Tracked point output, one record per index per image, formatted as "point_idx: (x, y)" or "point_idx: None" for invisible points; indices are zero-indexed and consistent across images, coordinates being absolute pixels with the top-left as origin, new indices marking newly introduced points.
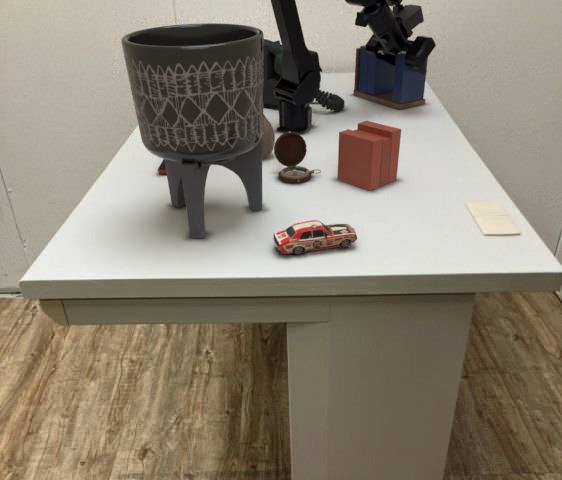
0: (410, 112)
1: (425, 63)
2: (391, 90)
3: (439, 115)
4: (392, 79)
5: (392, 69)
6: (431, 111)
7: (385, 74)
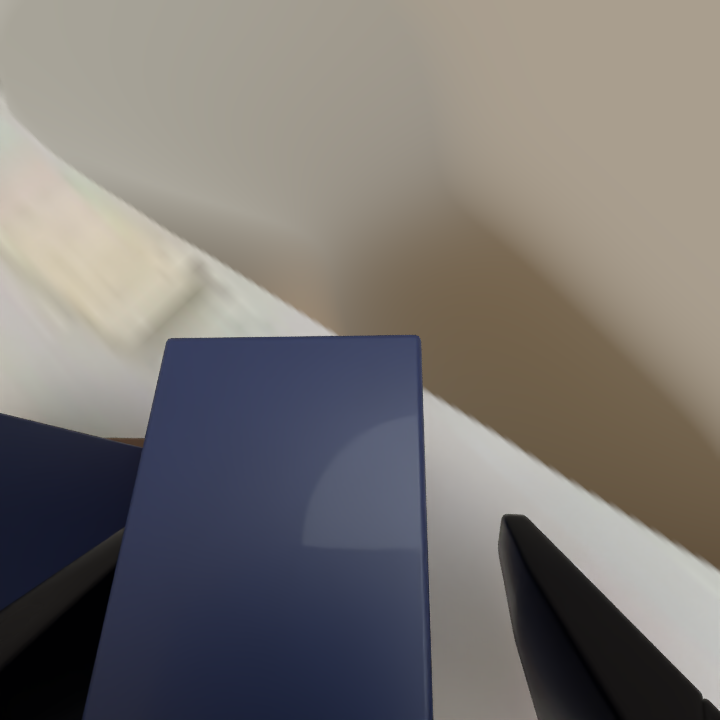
0: (515, 683)
1: (643, 638)
2: (132, 490)
3: (683, 571)
4: (81, 485)
5: (9, 491)
6: (568, 536)
7: (11, 584)
